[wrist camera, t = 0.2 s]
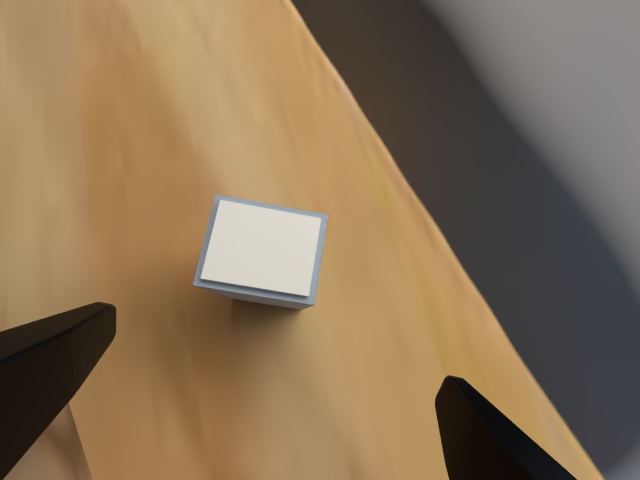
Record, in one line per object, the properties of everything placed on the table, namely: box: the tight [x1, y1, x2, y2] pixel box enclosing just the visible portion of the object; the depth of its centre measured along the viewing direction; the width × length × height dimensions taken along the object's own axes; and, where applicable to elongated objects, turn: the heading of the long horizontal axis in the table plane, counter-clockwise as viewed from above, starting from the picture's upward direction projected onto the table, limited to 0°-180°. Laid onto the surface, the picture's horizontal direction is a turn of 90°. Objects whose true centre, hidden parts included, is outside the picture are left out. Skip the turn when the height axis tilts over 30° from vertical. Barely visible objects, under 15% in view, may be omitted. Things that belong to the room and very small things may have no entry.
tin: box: [193, 194, 328, 310], centre depth 18 cm, size 4×5×10 cm
